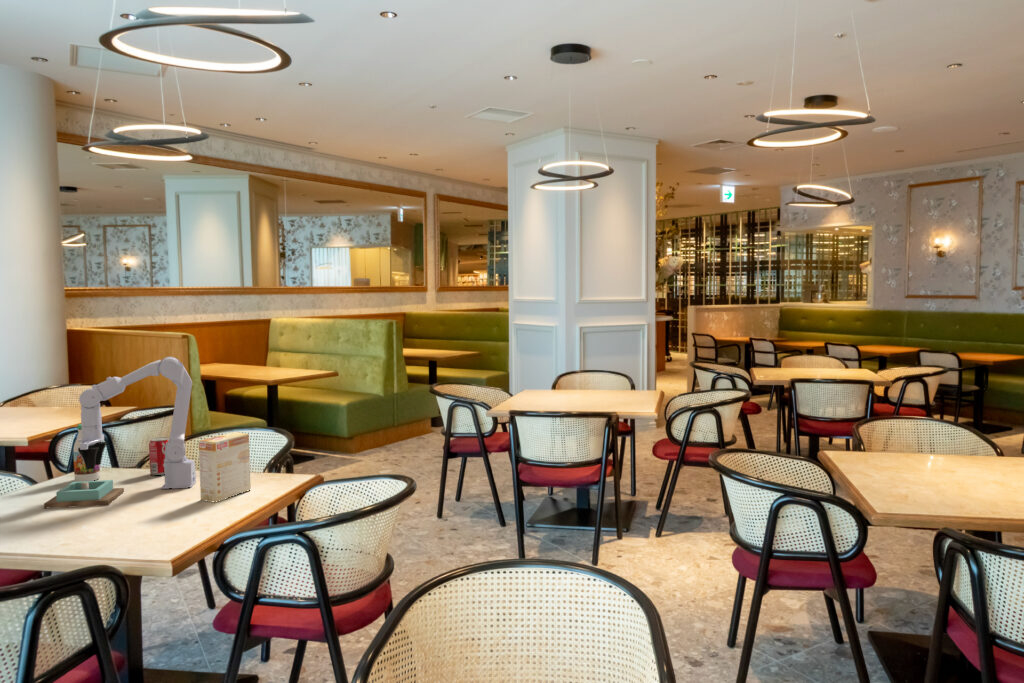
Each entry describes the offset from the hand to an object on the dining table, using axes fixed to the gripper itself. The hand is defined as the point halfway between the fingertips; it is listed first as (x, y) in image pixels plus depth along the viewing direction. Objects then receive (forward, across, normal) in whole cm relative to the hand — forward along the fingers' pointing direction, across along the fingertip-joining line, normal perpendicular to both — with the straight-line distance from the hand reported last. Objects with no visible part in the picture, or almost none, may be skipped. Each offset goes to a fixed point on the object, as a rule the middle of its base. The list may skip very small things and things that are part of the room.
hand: (93, 466), depth 229 cm
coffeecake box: (+10, +9, +42) cm, 44 cm away
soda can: (+10, -24, +14) cm, 29 cm away
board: (+9, +6, -1) cm, 11 cm away
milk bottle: (+10, -20, -10) cm, 24 cm away
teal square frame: (+8, +6, -1) cm, 10 cm away
